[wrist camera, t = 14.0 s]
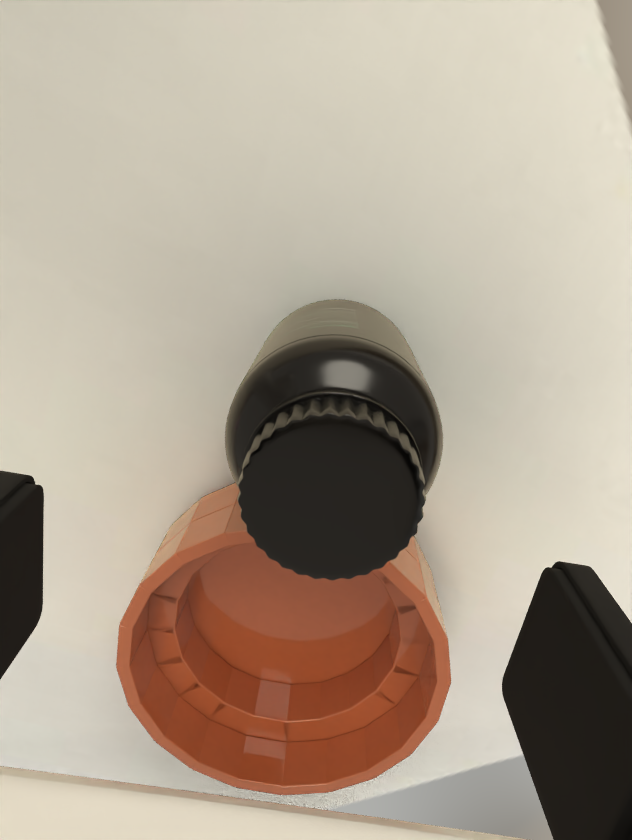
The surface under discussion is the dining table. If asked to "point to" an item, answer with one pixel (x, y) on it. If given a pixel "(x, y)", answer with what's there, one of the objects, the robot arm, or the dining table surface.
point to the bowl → (280, 659)
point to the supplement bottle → (333, 442)
